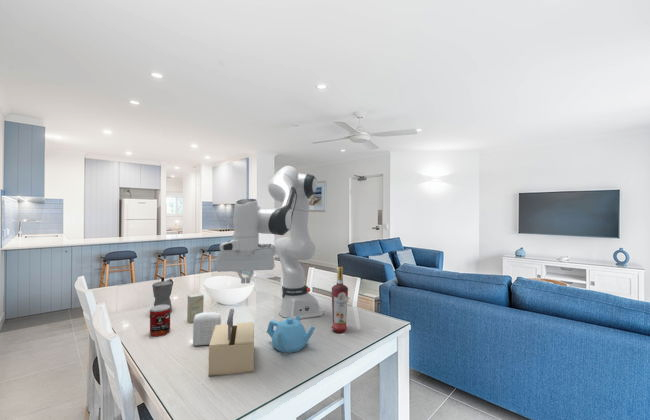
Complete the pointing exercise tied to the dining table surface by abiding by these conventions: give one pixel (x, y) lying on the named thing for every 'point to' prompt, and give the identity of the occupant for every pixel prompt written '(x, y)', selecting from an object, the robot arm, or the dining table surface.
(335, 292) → the liquor
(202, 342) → the photo printer
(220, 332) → the far flap
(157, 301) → the coffeepot
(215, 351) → the carton
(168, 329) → the canned food
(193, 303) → the skincare box
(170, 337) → the dining table surface
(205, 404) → the dining table surface
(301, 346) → the teapot
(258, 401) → the dining table surface
